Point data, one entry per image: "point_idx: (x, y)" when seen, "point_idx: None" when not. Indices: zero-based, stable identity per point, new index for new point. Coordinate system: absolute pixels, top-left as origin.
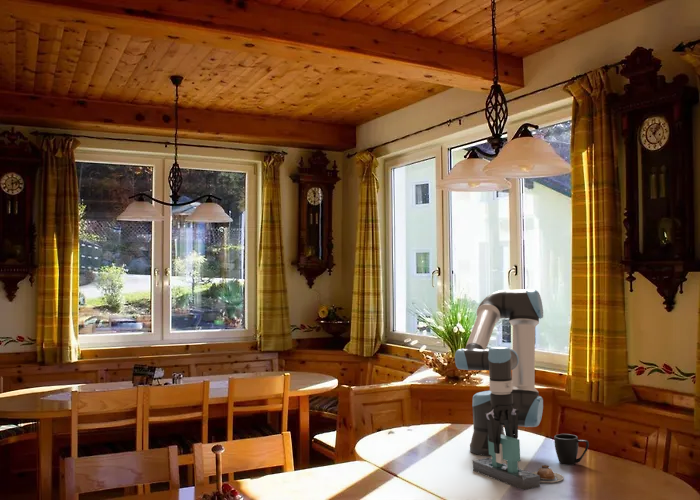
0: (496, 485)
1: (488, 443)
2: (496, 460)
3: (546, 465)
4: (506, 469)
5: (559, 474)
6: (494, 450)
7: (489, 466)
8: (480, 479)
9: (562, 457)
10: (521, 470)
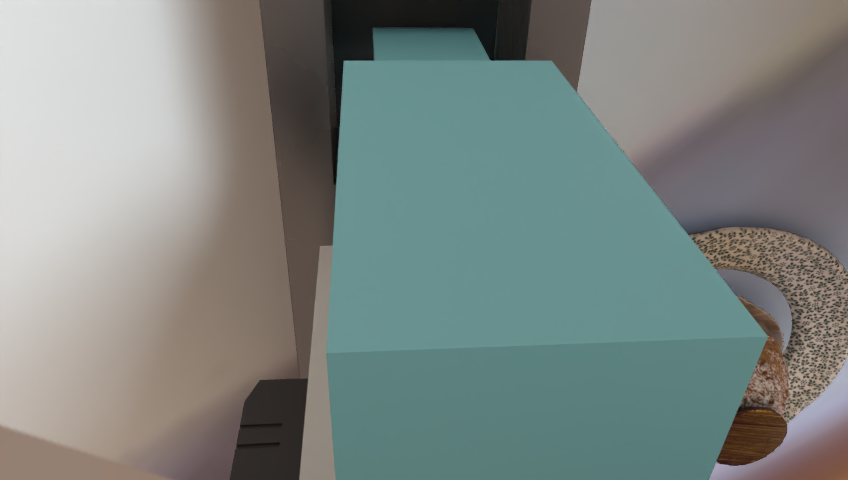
0: (189, 298)
1: (340, 164)
2: (320, 268)
3: (777, 430)
4: None
5: (828, 377)
6: (243, 422)
7: (282, 96)
8: (127, 64)
9: None
10: None
